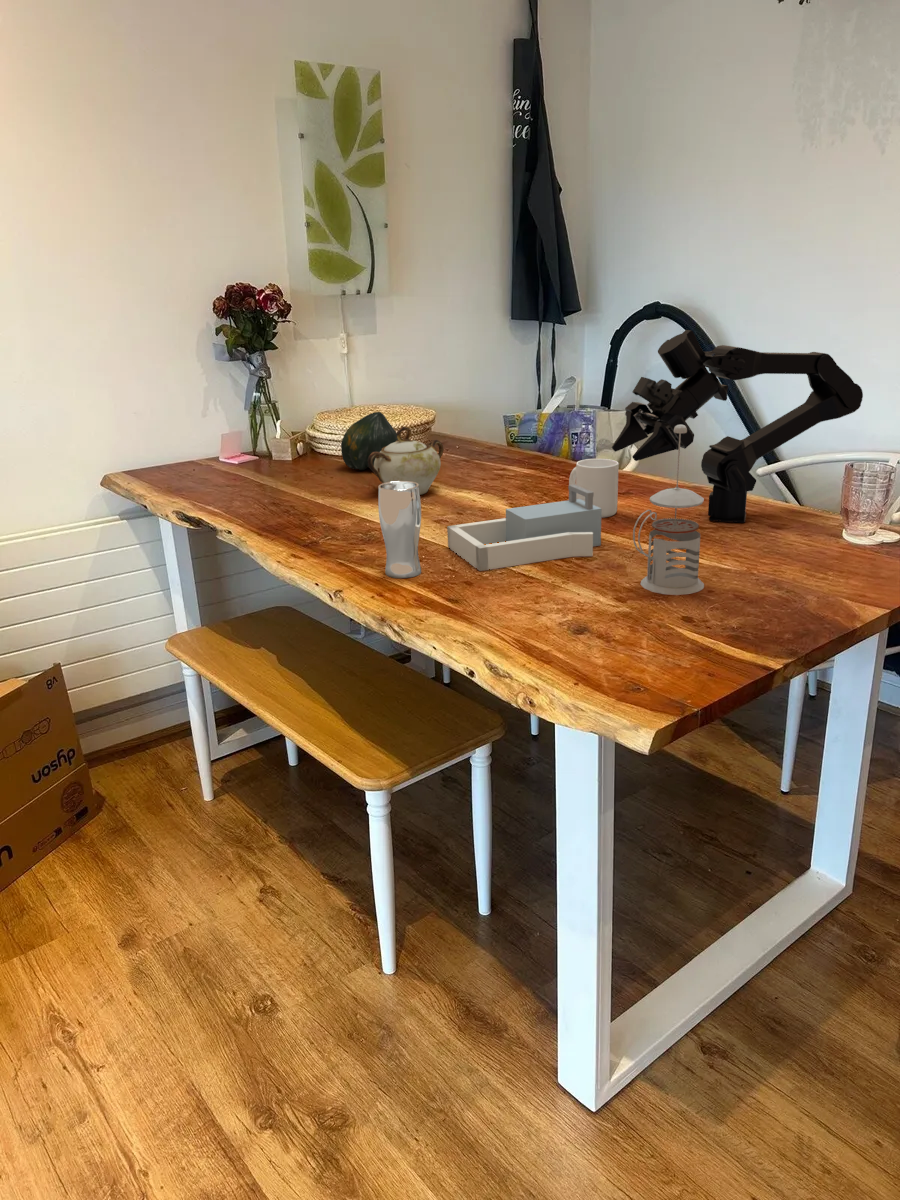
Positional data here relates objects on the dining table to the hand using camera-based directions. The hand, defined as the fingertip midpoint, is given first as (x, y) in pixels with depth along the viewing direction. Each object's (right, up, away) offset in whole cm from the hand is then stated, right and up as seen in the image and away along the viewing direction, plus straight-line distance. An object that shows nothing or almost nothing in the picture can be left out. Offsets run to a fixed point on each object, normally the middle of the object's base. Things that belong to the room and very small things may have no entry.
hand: (623, 454), depth 166 cm
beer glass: (-40, -22, -14) cm, 48 cm away
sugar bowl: (-41, -3, +39) cm, 57 cm away
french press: (+2, -25, -24) cm, 34 cm away
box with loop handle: (-13, -17, -2) cm, 22 cm away
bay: (-20, -18, -5) cm, 27 cm away
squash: (-52, +7, +65) cm, 84 cm away
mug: (-3, -9, +18) cm, 21 cm away
